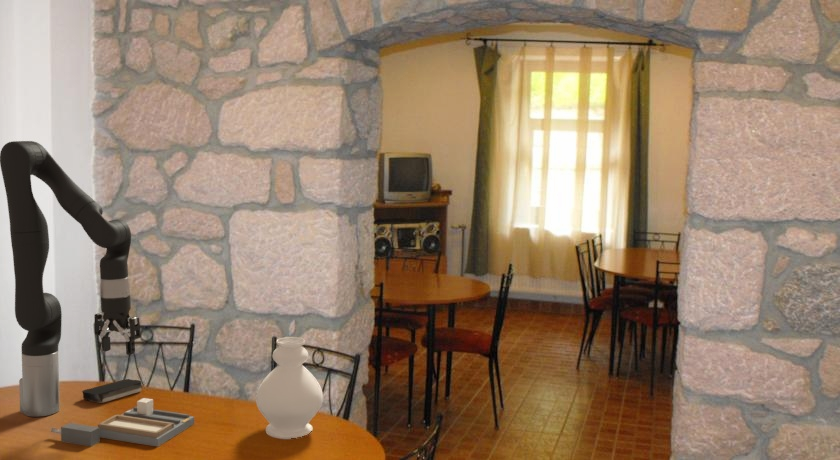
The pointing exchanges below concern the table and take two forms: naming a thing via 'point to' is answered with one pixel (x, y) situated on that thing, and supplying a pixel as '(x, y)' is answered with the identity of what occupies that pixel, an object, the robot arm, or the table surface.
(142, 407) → the switch tab
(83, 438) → the grey block with bolt
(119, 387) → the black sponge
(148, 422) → the switch board
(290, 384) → the decorative vase
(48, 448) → the table surface
